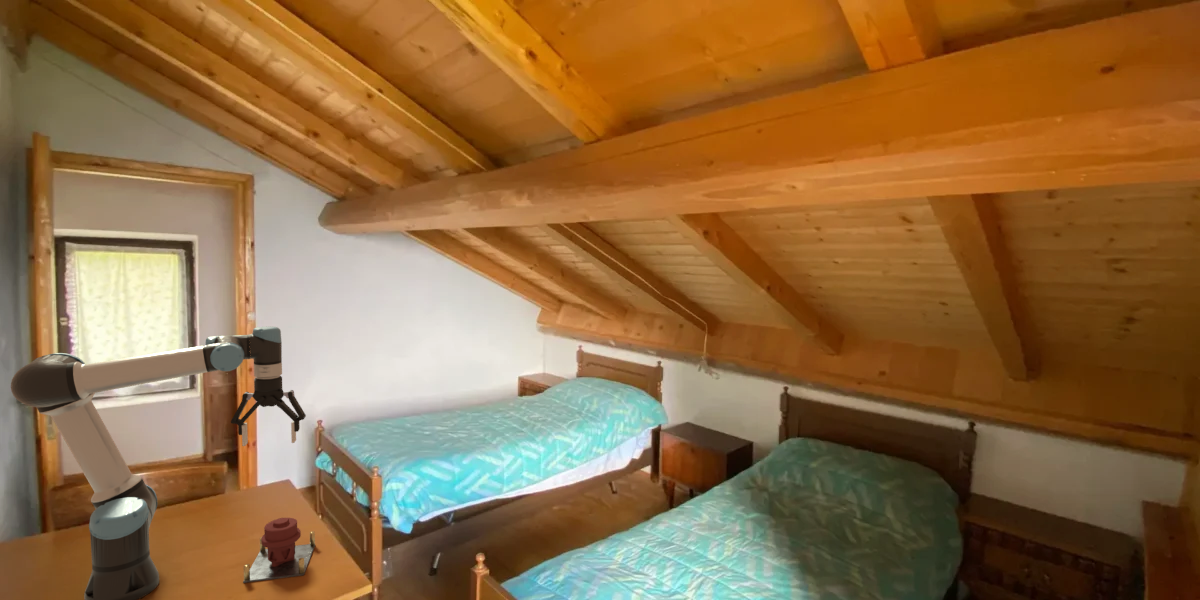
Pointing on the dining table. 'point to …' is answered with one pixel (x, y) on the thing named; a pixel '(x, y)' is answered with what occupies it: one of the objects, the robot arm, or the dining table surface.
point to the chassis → (288, 569)
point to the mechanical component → (281, 540)
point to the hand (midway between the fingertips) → (269, 443)
